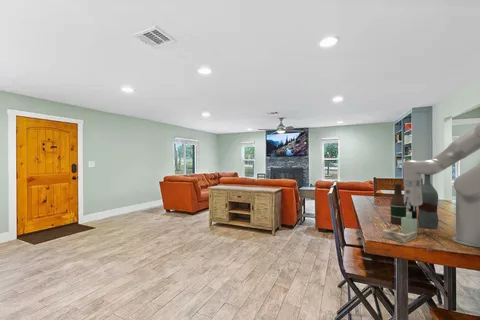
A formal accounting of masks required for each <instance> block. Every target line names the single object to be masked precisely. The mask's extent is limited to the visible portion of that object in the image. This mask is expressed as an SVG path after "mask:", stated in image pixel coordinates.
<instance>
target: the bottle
mask: <svg viewBox="0 0 480 320" xmlns="http://www.w3.org/2000/svg"><path fill="white" fill-rule="evenodd" d="M400 226H401V228H400V229H401V232H400V233H402V234H407V233H409V232H412V231H415V232H417V233H418V219H416V218H412V212H411V211H408V210H406V217H403V218H401V225H400Z"/></svg>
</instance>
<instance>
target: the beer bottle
mask: <svg viewBox="0 0 480 320" xmlns="http://www.w3.org/2000/svg"><path fill="white" fill-rule="evenodd" d="M393 192H394V194H393V197H392V198H391V200H390V223H391V224H392V225H396V226H401V218H403V217H406V211H407V208H406V206H407V205H405V204H404V196H403V194H402V193H403V191H402V183H400V182H395V183H394V191H393Z"/></svg>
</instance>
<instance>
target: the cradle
mask: <svg viewBox="0 0 480 320" xmlns="http://www.w3.org/2000/svg"><path fill="white" fill-rule="evenodd" d="M382 238H384V239H387V240H391V241H396V242H399V243H403V244H405V243H408V242H410V241H413V240H416V239H417V238H418V231H417V232H415V231H412V232H409V233H407V234H402V233H401V232H399V227H396V226H395V227H392V228H389V229H383V230H382Z"/></svg>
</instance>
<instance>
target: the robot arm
mask: <svg viewBox="0 0 480 320" xmlns="http://www.w3.org/2000/svg"><path fill="white" fill-rule="evenodd" d="M479 150H480V122H479V123H477V124H476V126H475V127H473V128H472V129H471V130H469V131H467V132H466V133H464V134H463V135H461V136H459V137H458V138H457V139H456V138H455V139H454V140H453V141H452V142H451V143H450V144H448V146H447V147H446V148H445V149H444V150H443V151H442V152H440V153H439V154H437V155H435V156H434V157H433V158H430V159H426V160H417V159H413V160H411V159H407V160H404V161H403V166H402V167H403V187H404V190H403V199H404V204H405V205H406V209H407V211H411V212H412V218H416V219H417V218H418V208H419V207H418V206H420V205H422V190H421V187H422V175H424V174H426V175H430V176H433V175H436V174H439V173H441V172H443V171H444V170H447V168H450V167H451V166H453V165H454V164H456V163H457V162H460V161H461V160H463V159H465V158H467V157H469V156H471V155H473V153H476V152H477V151H479ZM453 188H454V190H455V235H453V236H451V241H453V242H455V243H457V244H460V245H463V246H468V247H473V248H480V163H478V164H476V165H475V166H473V167H472V168H470V169H468V170H467V171H465V172H463V173H462V174H461V175H458V176H457V177H456V178H455V180H454V181H453ZM417 220H418V219H417Z"/></svg>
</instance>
